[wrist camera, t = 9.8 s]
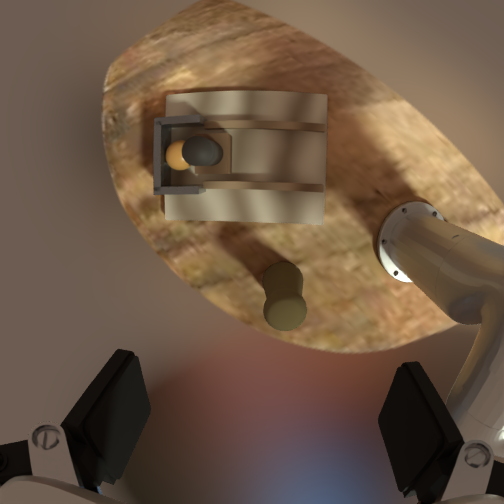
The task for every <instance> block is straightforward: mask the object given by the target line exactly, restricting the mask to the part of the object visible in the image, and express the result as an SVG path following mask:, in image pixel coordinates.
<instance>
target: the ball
mask: <svg viewBox="0 0 504 504" xmlns="http://www.w3.org/2000/svg"><path fill="white" fill-rule="evenodd" d="M184 142H185V141H184V140H178V141H175V142H173V143H172V144H170V145H169V147H168V148H167V150H166V154H165V157H166V161H167V163H168V165H169V166H170V167H171V168H173V169H175V170H185V169H187V168H189V167H190V166H191V165H189V164H188V163H186V162H185V160H184V159H183V157H182V146H183V144H184Z"/></svg>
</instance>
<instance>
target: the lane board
mask: <svg viewBox="0 0 504 504" xmlns="http://www.w3.org/2000/svg"><path fill="white" fill-rule="evenodd" d="M197 114H200V115H202V116H203V117H205V118H206V119H207V121H204V126H201V127H182V128H172V132H171V144H172V143H173V142H175V141H178V140H184V141H186V140H187V139H188V138H190V137H192V136H195V134H206V133H229V134H230V135H231V136H232V173H231V174H195V166H192V165H191V166H190V167H189V168H187V169H185V170H175V169H173V168H171V185H186V184H203V189H206V192H204V193H201V194H186V195H165V220H200V221H240V222H270V223H294V224H316V225H323V220H324V205H325V187H326V163H327V94H316V93H304V92H287V91H214V92H197V93H184V94H173V95H166V112H165V117H169V116H182V115H197Z"/></svg>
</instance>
